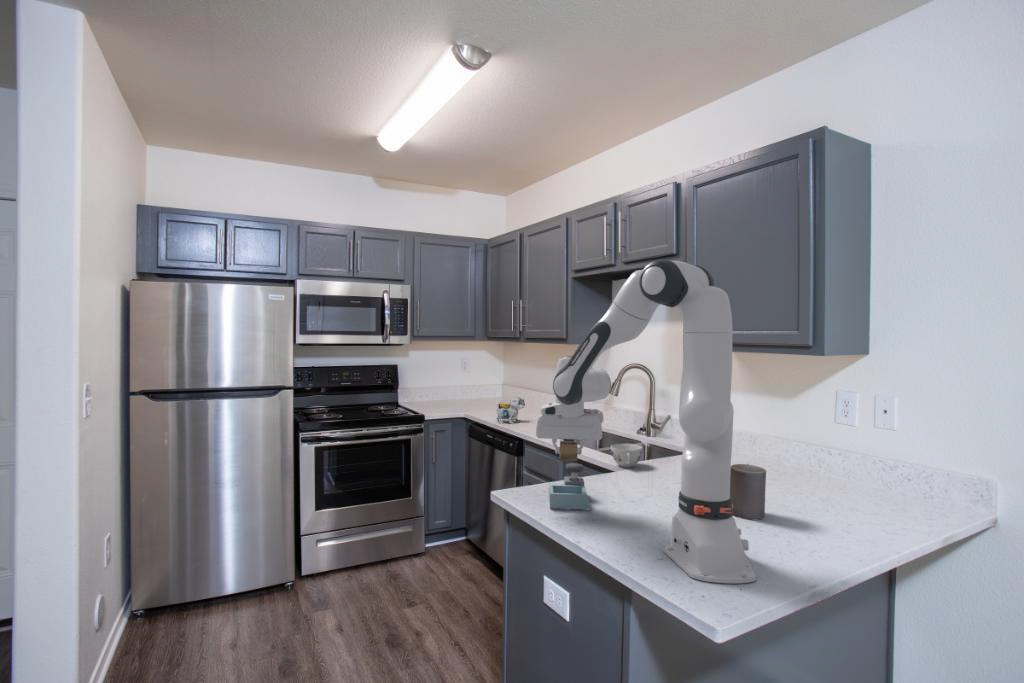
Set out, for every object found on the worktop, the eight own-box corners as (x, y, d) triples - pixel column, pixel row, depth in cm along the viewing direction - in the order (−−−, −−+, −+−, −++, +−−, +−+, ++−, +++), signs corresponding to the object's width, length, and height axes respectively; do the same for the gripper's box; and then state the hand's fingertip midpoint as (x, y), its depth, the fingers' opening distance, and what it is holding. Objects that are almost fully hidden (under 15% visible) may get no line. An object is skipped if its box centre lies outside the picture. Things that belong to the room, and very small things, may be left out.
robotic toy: (522, 425, 301) (523, 398, 301) (493, 423, 304) (493, 397, 304) (526, 421, 314) (526, 396, 314) (497, 420, 317) (498, 395, 317)
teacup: (609, 461, 217) (609, 442, 217) (640, 462, 216) (640, 443, 215) (611, 470, 202) (612, 450, 202) (645, 472, 201) (645, 451, 200)
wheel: (583, 484, 166) (583, 467, 166) (565, 483, 166) (566, 467, 166) (582, 479, 172) (582, 463, 172) (564, 479, 172) (565, 462, 172)
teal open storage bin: (590, 510, 156) (590, 491, 156) (549, 508, 156) (550, 490, 156) (585, 493, 172) (585, 477, 172) (548, 492, 172) (548, 476, 172)
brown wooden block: (577, 461, 158) (577, 442, 158) (560, 460, 158) (560, 441, 158) (575, 456, 164) (576, 438, 164) (559, 456, 164) (560, 437, 164)
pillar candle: (721, 510, 158) (723, 460, 157) (746, 507, 161) (748, 458, 161) (746, 521, 149) (748, 469, 148) (772, 518, 152) (774, 466, 152)
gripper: (602, 407, 163) (601, 452, 163) (536, 406, 164) (535, 450, 164) (604, 410, 157) (603, 457, 157) (536, 409, 158) (535, 454, 158)
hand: (568, 453), depth 161 cm, fingers closed on brown wooden block, 5 cm apart
